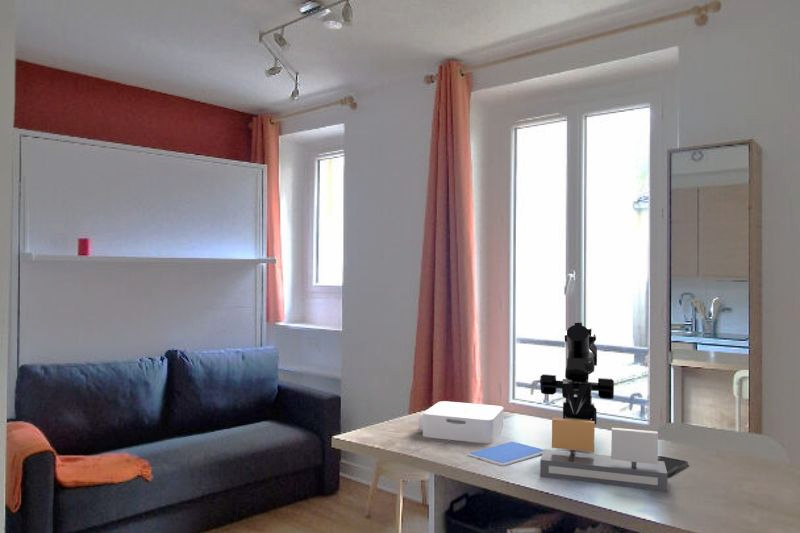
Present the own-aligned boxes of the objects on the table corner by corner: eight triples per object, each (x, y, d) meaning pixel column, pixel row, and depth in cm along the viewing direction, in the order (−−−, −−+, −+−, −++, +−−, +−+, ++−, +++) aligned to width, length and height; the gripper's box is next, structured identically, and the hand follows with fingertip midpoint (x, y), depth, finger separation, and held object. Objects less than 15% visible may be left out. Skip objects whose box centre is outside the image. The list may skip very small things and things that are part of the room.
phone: (636, 467, 160) (658, 455, 171) (636, 472, 160) (658, 459, 171) (668, 474, 154) (689, 461, 165) (668, 479, 154) (689, 466, 165)
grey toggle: (611, 461, 152) (611, 427, 152) (656, 466, 148) (657, 431, 149) (611, 463, 150) (611, 429, 150) (657, 468, 147) (657, 433, 147)
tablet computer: (503, 468, 161) (503, 463, 161) (465, 457, 170) (465, 452, 170) (548, 455, 174) (548, 450, 174) (511, 445, 183) (511, 440, 183)
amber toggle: (552, 449, 161) (552, 417, 161) (594, 454, 158) (594, 421, 158) (551, 451, 159) (552, 419, 159) (593, 456, 156) (594, 423, 156)
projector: (435, 421, 209) (435, 400, 209) (504, 428, 202) (504, 406, 202) (415, 436, 189) (416, 413, 189) (491, 445, 182) (491, 420, 182)
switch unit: (544, 464, 163) (544, 448, 163) (663, 478, 154) (664, 460, 154) (539, 476, 153) (540, 459, 153) (667, 491, 144) (667, 473, 144)
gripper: (541, 344, 173) (535, 392, 163) (614, 347, 167) (613, 398, 157) (543, 369, 181) (538, 416, 170) (614, 373, 175) (613, 423, 164)
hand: (575, 413), depth 165 cm, fingers closed
